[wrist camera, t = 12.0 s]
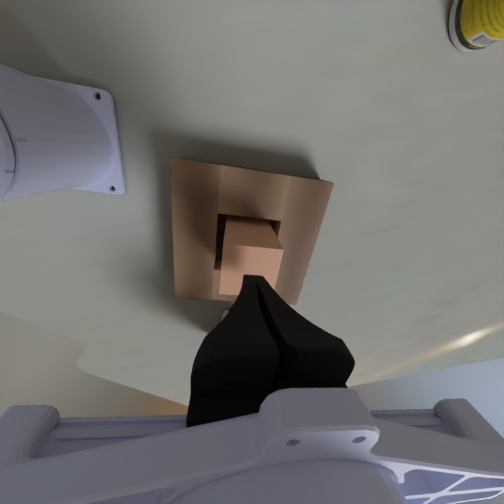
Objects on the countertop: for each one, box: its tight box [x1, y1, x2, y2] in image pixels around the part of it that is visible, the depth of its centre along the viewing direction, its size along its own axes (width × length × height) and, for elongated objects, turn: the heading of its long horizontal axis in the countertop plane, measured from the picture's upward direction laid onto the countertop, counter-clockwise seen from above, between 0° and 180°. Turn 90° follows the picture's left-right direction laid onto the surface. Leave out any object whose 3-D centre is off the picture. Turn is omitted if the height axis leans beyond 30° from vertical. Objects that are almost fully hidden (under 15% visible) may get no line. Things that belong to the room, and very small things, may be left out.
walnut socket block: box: [170, 158, 334, 305], centre depth 20 cm, size 14×14×3 cm
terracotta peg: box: [219, 214, 284, 295], centre depth 18 cm, size 4×4×8 cm
